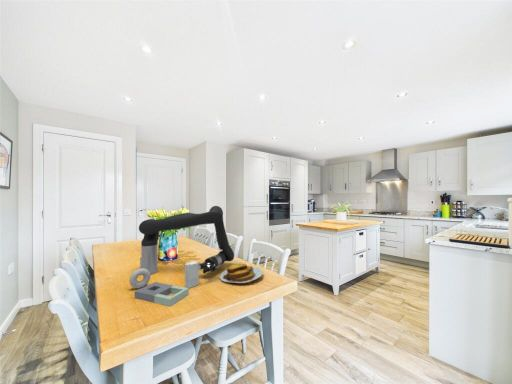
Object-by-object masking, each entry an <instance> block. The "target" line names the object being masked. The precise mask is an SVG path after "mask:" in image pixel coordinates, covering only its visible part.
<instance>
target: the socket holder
mask: <svg viewBox="0 0 512 384" xmlns="http://www.w3.org/2000/svg"><path fill="white" fill-rule="evenodd" d="M189 290H190V288H188V287H183V286H179V285H173V284H168V283H162V282H158V281H157V282H156V281H154V282H152V283H150V284H147V285H145V286H144V287H142V288H138V289H137V290H134V298H135V299H138V300H142V301H146V302H151V303H153V304H159V305H162V306H166V307H171V306H173V305H174V304H176V303H178V302H180V301H181V300H182V299H184V298H186V297H187V296H189V295H190V294H189ZM171 294H172V295H171ZM170 295H171V296H170Z"/></svg>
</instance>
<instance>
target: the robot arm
mask: <svg viewBox="0 0 512 384" xmlns="http://www.w3.org/2000/svg"><path fill="white" fill-rule="evenodd" d="M224 223H225V222H224V211H223V209H222V207H220V206H219V205H214V206H212V207H210V209H209V210H208V211H207V212H202V213H195V212H183V213H179V214H178V213H177V214H174V215H170V216H167V217H163V218H159V219H155V218H148V219H146V220H143V221H141V223H140V224H139V226H138V231H139V233H141V234H142V235H143V238H142V240H141V245H140V246H141V247H140V249H141V252H140V255H141V256H140V258H139V269H141V268H144V269H147V270H148V271H149V272H150V275H153V274H156V273H158V268H159V267H158V265H159V264H158V256H159V255H158V252H159V250H158V248H159V247H158V243H159V239H160V232H163V231H170V230H171V231H174V230H182V229H186V228H190V227H197V226H201V225H213V226H214V230H215V235H216V241H217V245H218V249H219V250H220V251H219V252H217V254H215V255H212V256H209V257H207V258H206V259H205V260H204V261H202V262H201V263H200V262H199V261H197V262H198V263H199V271H200V270H202V274H206V273H210V272H211V273H213V272H215V271H216V270H218V267H220V266H221V265H223V264H224V263H225V262H232V261H233V260H234V259H235V253H234V250H233V249H232V247H231V245H230V244H229V239H228V236H227V232H226V228H225V224H224Z"/></svg>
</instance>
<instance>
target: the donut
mask: <svg viewBox="0 0 512 384" xmlns="http://www.w3.org/2000/svg"><path fill="white" fill-rule="evenodd" d="M140 276H143V279H141V280H140V281H138V277H140ZM150 281H151V274H150V272H149V271H148V270H147V269H144V268H141V269H140V268H138V269H136V270H134V271H133V272H132V273H131V275H130V276H129V285H130V286H131V287H132V288H134V289H141V288H143V287H145V286H148V283H149V282H150Z"/></svg>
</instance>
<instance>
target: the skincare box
mask: <svg viewBox="0 0 512 384" xmlns="http://www.w3.org/2000/svg"><path fill="white" fill-rule="evenodd" d="M198 262H199V261H190V262H187V263H185V264H184V286H185V288H189V289H191V288H194V287H196V286H199V284H200V281H199V280H200V279H199V278H200V273H199V272H200V270H199V268H200V266H199V263H200V262H199V263H198Z"/></svg>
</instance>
